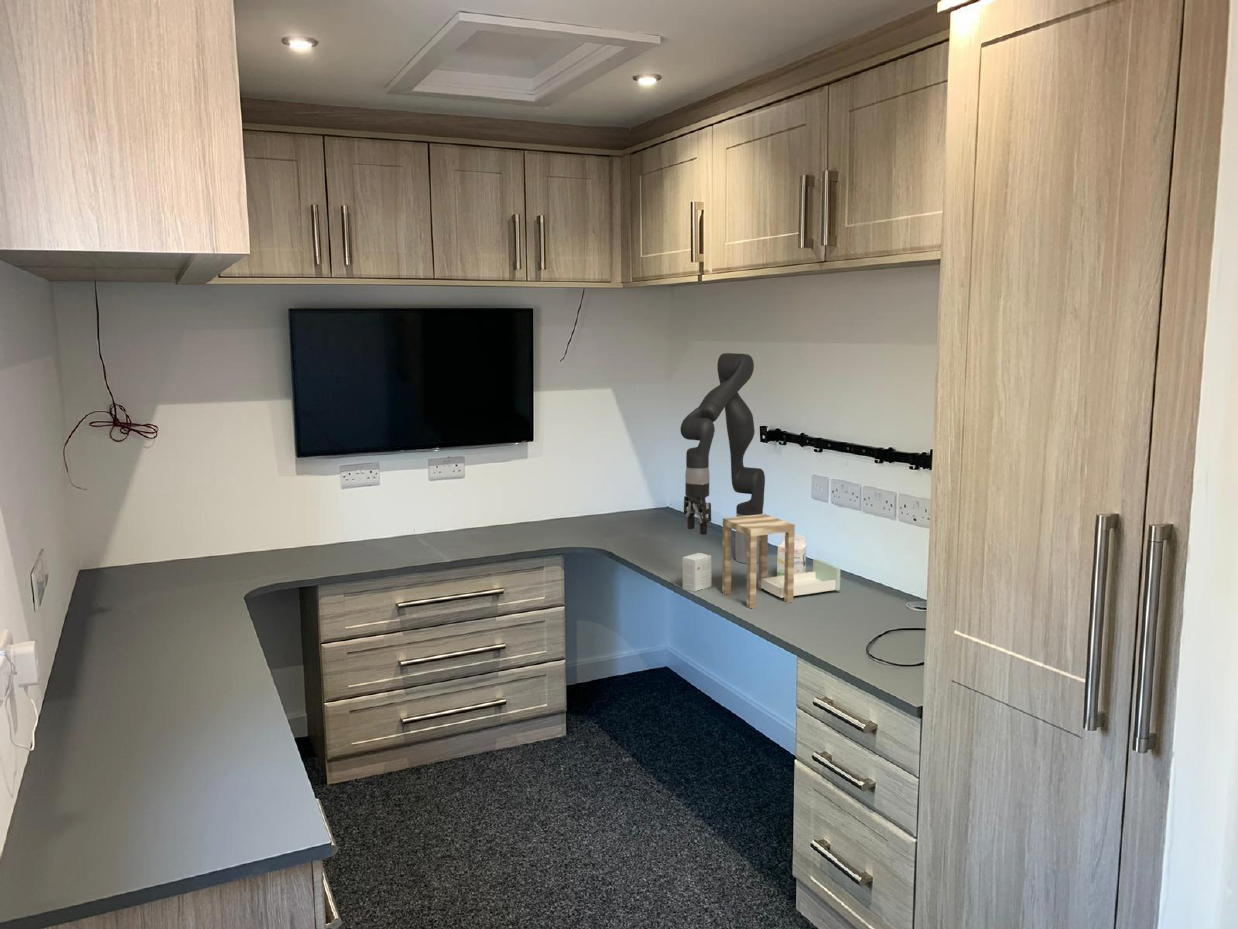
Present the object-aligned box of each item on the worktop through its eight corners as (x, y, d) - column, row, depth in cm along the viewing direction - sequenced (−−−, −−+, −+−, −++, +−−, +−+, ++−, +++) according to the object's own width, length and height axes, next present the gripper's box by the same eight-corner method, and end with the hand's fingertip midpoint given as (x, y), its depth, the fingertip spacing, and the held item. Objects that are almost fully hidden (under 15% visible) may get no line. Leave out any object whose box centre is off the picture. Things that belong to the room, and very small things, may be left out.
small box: (698, 583, 302) (698, 552, 300) (711, 587, 298) (712, 555, 296) (681, 588, 297) (681, 556, 295) (695, 592, 293) (695, 560, 291)
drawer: (759, 587, 294) (759, 565, 293) (815, 579, 302) (816, 558, 301) (782, 598, 282) (782, 576, 281) (839, 590, 290) (840, 568, 289)
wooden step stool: (722, 593, 291) (722, 518, 287) (763, 587, 297) (764, 513, 293) (750, 608, 276) (750, 529, 272) (793, 602, 281) (794, 524, 278)
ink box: (775, 580, 305) (776, 536, 302) (780, 576, 309) (781, 533, 307) (801, 583, 301) (802, 539, 298) (806, 579, 305) (807, 535, 303)
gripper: (676, 478, 297) (676, 528, 299) (697, 485, 284) (696, 537, 286) (697, 476, 300) (697, 526, 302) (718, 483, 287) (718, 535, 289)
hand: (697, 531), depth 294 cm, fingers open, 8 cm apart
